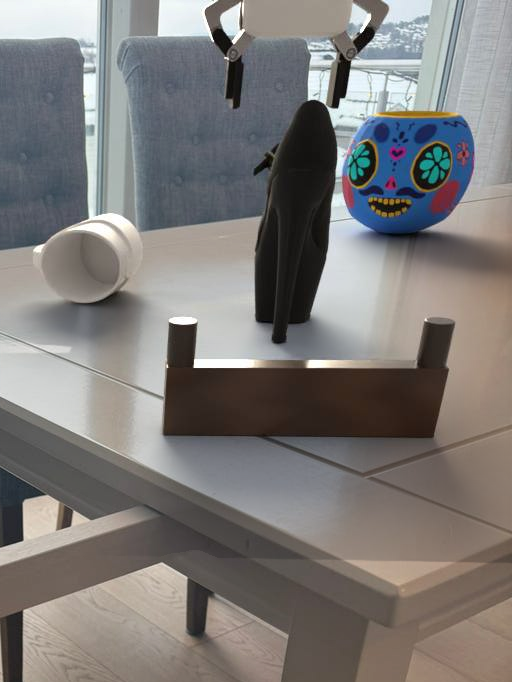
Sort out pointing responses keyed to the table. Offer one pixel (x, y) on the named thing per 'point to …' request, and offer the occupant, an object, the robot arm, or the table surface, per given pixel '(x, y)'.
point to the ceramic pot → (407, 169)
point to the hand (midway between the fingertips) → (282, 107)
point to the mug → (90, 258)
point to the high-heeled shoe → (295, 219)
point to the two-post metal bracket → (304, 391)
